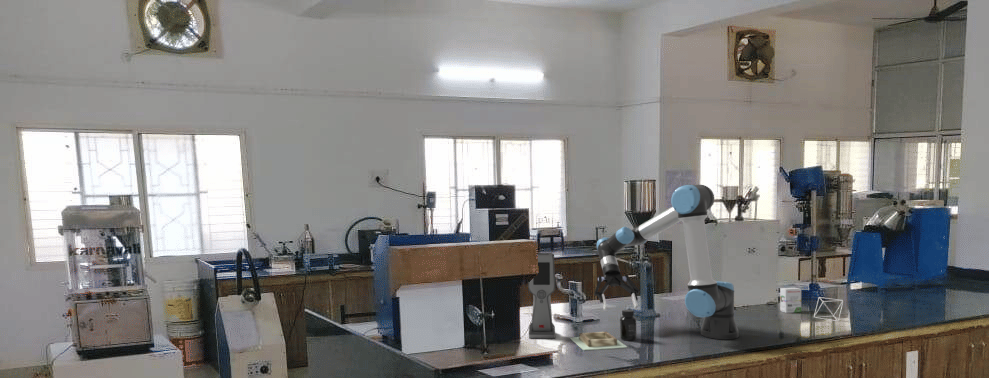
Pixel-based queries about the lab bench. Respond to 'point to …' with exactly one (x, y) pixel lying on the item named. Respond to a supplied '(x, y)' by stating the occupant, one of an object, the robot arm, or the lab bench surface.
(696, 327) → the lab bench surface
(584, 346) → the mat
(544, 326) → the thermal camera
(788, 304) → the ink box
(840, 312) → the geometric polyhedron
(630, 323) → the supplement bottle
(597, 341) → the wooden square frame
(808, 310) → the lab bench surface
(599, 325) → the lab bench surface
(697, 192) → the robot arm
